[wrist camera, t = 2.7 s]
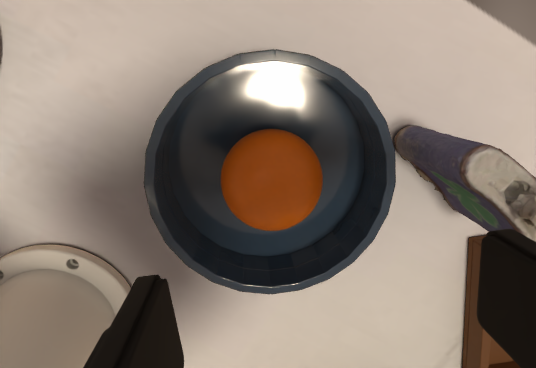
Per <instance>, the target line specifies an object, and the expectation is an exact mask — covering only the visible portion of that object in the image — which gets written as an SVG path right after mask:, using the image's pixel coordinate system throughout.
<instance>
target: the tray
mask: <svg viewBox="0 0 536 368" xmlns="http://www.w3.org/2000/svg"><path fill="white" fill-rule="evenodd" d="M484 237H486V235H484V236H477V237H470V238H469V246H468V265H467V285H466V305H465V324H464V344H463V364H462V368H521V367H520V366H519V365H518V364H517V363H516V362H515V361H514V360H513V359H512V358H511V357H510V356H509V355H508V354H507V353H506V352H505V351H504V350H503V349H502V348H501V347H500V346H499V345H498V344H497V343H496V342H495V340H494V339H493V338H492V337H491V336H490V335H489V334H488V333H487V332H486V331H485V330H484V329H483V328H482V327H481V326H480V324H479V322H478V319H477V313H476V312H477V298H478V284H479V270H480V256H481V242H482V239H483V238H484Z"/></svg>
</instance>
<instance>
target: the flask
mask: <svg viewBox="0 0 536 368" xmlns="http://www.w3.org/2000/svg"><path fill="white" fill-rule="evenodd" d="M394 143H395V148H396V149H397V151H398V152H399V153H400V155H401V157H402V158H403V159H404V160H408V161H410V162H411V163H412V165H413V166H414V167H415V168H416V169H417V170H416V171H417V172H418V173H419V174H420V177H423V178H424V180H427V181H428V180H429V182H431V183H433V184H434V185H435V186H436V187H435V190H437V191H439V192H441V193H442V194H443V196H444V200H446V201H447V202H448V204H449V205H450V206H451V207H452V209H453V210H456V211H458V212H459V213H461V214H463V215H465V216H466V217H468V218H469V219H471V220H472V221H474V222H476V223H477V224H479V225H480V226H482V227H483V228H485V229H486V230H487V231H489V232H490V231H495V230H503V229H513V230H515V231H517V232H519V233H521V234H523V235H524V236H526V237H528V238H530V239H532V240H533V241H535V242H536V178H535V177H534V176H533V175H531V174H530V173H529V172H528V171H527V170H526V169H525V168H524V167H523V166H521V165H520V164H519V163H518V162H516V161H515V160H514V159H513V158H512V157H510V156H509V155H508V154H506V153H505V152H503V151H502V150H501V149H497V148H495V147H493V146H491V145H486V144H482V143H479V142H474V141H470V140H466V139H462V138H458V137H454V136H451V135H447V134H443V133H439V132H436V131H434V130H430V129H426V128H422V127H420V126H407V127H404V128H402V129H401V130H400V131H399V132H398V133H397V135H396V136H395V138H394Z"/></svg>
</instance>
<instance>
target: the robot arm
mask: <svg viewBox="0 0 536 368" xmlns="http://www.w3.org/2000/svg"><path fill="white" fill-rule="evenodd" d="M476 313H477V319H478V322H479V324H480V326H481V327H482V328H483V329H484V330H485V331H486V332H487V333H488V334H489V335H490V336H491V337H492V338H493V339H494V340H495V342H496V343H497V344H498V345H499V346H500V347H501V348H502V349H503V350H504V351H505V352H506V353H507V354H508V355H509V356H510V357H511V358H512V359H513V360H514V361H515V362H516V363H517V364H518V365H519V366H520V367H521V368H536V242H535V241H533V240H532V239H530V238H528V237H526V236H524V235H523V234H521V233H519V232H517V231H515V230H513V229H503V230H495V231H490V232H488V233H487V235H486V237H484V238H483V239H482V242H481V256H480V270H479V284H478V298H477V312H476ZM0 368H184V355H183V350H182V346H181V341H180V336H179V332H178V327H177V323H176V318H175V314H174V309H173V305H172V300H171V296H170V291H169V286H168V282H167V280H166V279H161V278H160V276H159V275H150V276H143V277H138V278H137V279H136V280H135V282H134V284H133V286H132V288H131V287H130V286H129V284H128V283H127V282H126V280H125V279H124V277H123V276H122V275H121V274H119V273H118V272H117V271H116V270H115V269H114V268H113V267H112V266H111V265H109V264H108V263H106V262H105V261H103V260H102V259H100V258H99V257H97V256H94V255H92V254H90V253H88V252H86V251H83V250H79V249H76V248H72V247H69V246H61V245H52V244H51V245H34V246H30V247H26V248H21V249H18V250H16V251H14V252H11V253H9V254H7V255H5V256H4V257H2V258H1V259H0Z"/></svg>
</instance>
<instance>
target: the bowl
mask: <svg viewBox="0 0 536 368" xmlns="http://www.w3.org/2000/svg"><path fill="white" fill-rule="evenodd" d="M263 129H280V130H285V131H288V132H291V133H293V134H295V135H297V136H299V137H300V138H301V139H303V140H304V141H305V142H306V143H307V144H309V146H310V147H311V148H312V149H313V151H314V152H315V154H316V156H317V157H318V160H319V162H320V165H321V169H322V176H323V184H322V191H321V195H320V197H319V200H318V202H317V204H316V206H315V208H314V209H313V210H312V212H311V213H310V214H309V215H308V216H307V217H306V218H305V219H304V220H303V221H301V222H300V223H298V224H296V225H294V226H292V227H290V228H287V229H284V230H278V231H265V230H260V229H256V228H253V227H251V226H249V225H247V224H245V223H244V222H242V221H241V220H240V219H238V218H237V217H236V216H235V215H234V214H233V213H232V211H231V210H230V209H229V207H228V205H227V203H226V202H225V199H224V197H223V194H222V189H221V171H222V166H223V163H224V160H225V158H226V156H227V154H228V153H229V151H230V150H231V148H232V147H233V146H234V145H235V144H236V143H237V142H238V141H239V140H240V139H242V138H243V137H245V136H246V135H248V134H250V133H252V132H255V131H258V130H263ZM395 183H396V175H395V149H394V146H393V142H392V139H391V136H390V132H389V129H388V125H387V122H386V120H385V118H384V117H383V115H382V114H381V112H380V110H379V109H378V107H377V106H376V104H375V102H374V101H373V99H372V98H371V96H370V95H369V93H368V92H367V91H366V90H365V89H364V88H362V87H361V86H360V85H359V84H358V83H357V82H356V81H354V80H353V79H352V78H351V77H350V76H349V75H348V74H347V73H345V72H344V71H342V70H341V69H339V68H337V67H335V66H333V65H331V64H329V63H327V62H324V61H322V60H320V59H318V58H316V57H314V56H310V55H308V54H301V53H295V52H289V51H283V50H277V49H276V50H274V49H273V50H265V51H257V52H248V53H240V54H237V55H234V56H232V57H230V58H227V59H225V60H222V61H220V62H218V63H215V64H213V65H211V66H208V67H206V69H203V70H202V71H200V72H199V73H198V74H197V75H196V76H194V77H193V78H192V79H191V80H189V81H188V82H187V83H186V84H184V85H183V86H182V87H181V88H179V89H178V90H177V91H176V92H175V94H174V95H173V97H172V98H171V99H170V101H169V102H168V104H167V105H166V107H165V108H164V109H163V111H162V112H161V114H160V115H159V117H158V118H157V120H156V123H155V126H154V128H153V131H152V134H151V137H150V140H149V143H148V146H147V149H146V153H145V172H144V188H145V192H146V196H147V201H148V205H149V209H150V214H151V216H152V219H153V221H154V222H155V224H156V226H157V228H158V230H159V232H160V234H161V235H162V237H163V239H164V241H165V243H166V244H167V245H168V246H169V247H170V249H171V250H172V251H173V252H174V253H175V254H176V255H177V256H178V257H179V258H180V259H181V260H182V261H183V262H184V263H185V264H186V265H187V266H188V267H189V268H191V269H192V270H194V271H196V272H197V273H199V274H200V275H202V276H204V277H205V278H207V279H208V280H210V281H211V282H213V283H216V284H219V285H222V286H225V287H228V288H231V289H234V290H237V291H241V292H250V293H261V294H277V293H284V292H291V291H298V290H302V289H305V288H308V287H310V286H313V285H315V284H318V283H320V282H323V281H326V280H328V279H330V278H331V277H333V276H334V275H336V274H337V273H339V272H340V271H342V270H343V269H345V268H346V267H347V266H349V265H350V264H352V263H353V262H354V261H355V260H356V259H357V258H358V257H359V256H360V255H361V254H362V253H363V251H364V250H365V249H366V248H367V247H368V246H369V245H370V244H371V243H372V242H373V240H374V239H375V237H376V235H377V233H378V231H379V230H380V228H381V226H382V224H383V222H384V220H385V219H386V217H387V215H388V212H389V208H390V204H391V200H392V196H393V192H394V188H395Z"/></svg>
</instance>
